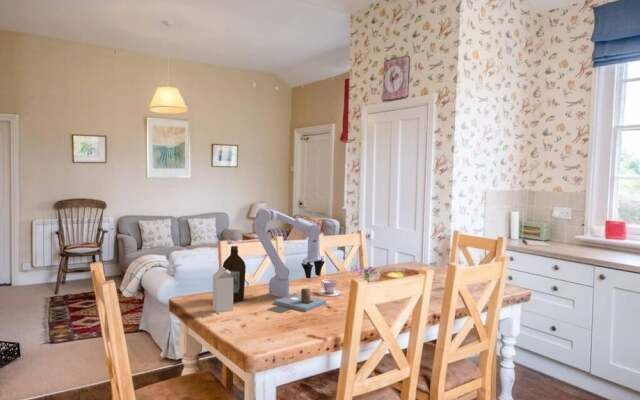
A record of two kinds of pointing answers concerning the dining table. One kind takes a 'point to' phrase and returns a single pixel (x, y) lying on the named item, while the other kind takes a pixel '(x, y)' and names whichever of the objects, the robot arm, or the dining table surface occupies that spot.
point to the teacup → (329, 288)
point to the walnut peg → (305, 296)
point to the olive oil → (236, 273)
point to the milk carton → (222, 291)
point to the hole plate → (299, 302)
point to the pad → (279, 309)
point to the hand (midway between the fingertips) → (312, 276)
